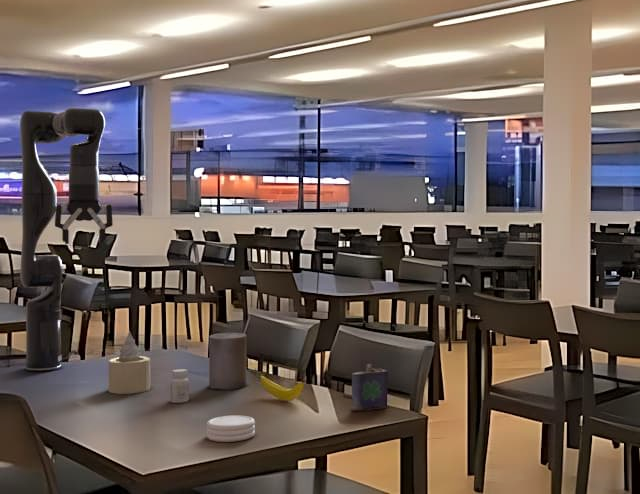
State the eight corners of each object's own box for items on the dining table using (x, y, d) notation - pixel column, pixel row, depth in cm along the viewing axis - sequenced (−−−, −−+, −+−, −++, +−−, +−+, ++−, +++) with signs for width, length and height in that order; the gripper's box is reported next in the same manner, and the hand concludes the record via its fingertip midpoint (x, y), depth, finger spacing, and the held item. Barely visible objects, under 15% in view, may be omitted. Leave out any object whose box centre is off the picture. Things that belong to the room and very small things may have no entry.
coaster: (241, 428, 211) (241, 412, 211) (263, 437, 203) (263, 420, 203) (198, 435, 204) (198, 419, 204) (219, 445, 196) (219, 428, 196)
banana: (265, 393, 247) (265, 369, 247) (309, 405, 234) (309, 379, 234) (255, 395, 245) (255, 370, 245) (299, 407, 232) (299, 380, 232)
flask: (354, 412, 227) (354, 366, 226) (349, 409, 229) (349, 365, 229) (389, 407, 231) (389, 363, 231) (384, 405, 234) (384, 361, 234)
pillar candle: (242, 381, 262) (242, 327, 262) (249, 388, 254) (250, 331, 254) (205, 384, 258) (205, 329, 258) (212, 391, 250) (212, 333, 249)
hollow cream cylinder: (106, 388, 253) (106, 357, 253) (146, 384, 258) (146, 355, 258) (111, 395, 244) (111, 364, 244) (153, 391, 249) (153, 360, 249)
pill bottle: (192, 400, 239) (192, 369, 239) (181, 403, 235) (181, 372, 235) (177, 398, 240) (177, 368, 240) (166, 402, 236) (166, 371, 236)
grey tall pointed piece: (142, 385, 253) (142, 329, 253) (134, 389, 248) (134, 332, 248) (124, 385, 254) (124, 328, 254) (115, 389, 249) (115, 331, 249)
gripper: (110, 183, 263) (110, 242, 263) (54, 182, 257) (53, 243, 257) (113, 183, 257) (113, 243, 257) (56, 182, 250) (56, 244, 250)
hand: (83, 243), depth 257 cm, fingers open, 8 cm apart
